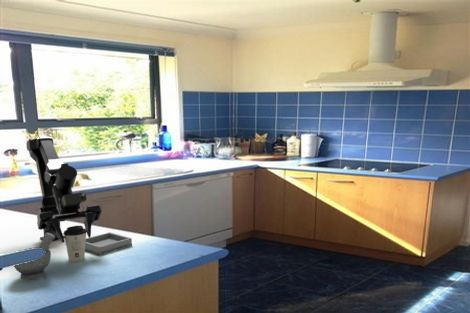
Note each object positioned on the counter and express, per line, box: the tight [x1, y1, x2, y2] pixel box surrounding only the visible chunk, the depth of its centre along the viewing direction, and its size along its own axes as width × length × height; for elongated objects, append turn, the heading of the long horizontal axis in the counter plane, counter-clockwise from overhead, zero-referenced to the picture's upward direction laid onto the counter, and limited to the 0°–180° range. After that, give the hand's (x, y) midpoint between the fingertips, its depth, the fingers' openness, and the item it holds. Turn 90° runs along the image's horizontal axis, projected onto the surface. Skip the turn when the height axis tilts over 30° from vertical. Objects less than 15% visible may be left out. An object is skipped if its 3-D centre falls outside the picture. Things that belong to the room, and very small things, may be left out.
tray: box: [85, 231, 133, 256], centre depth 150 cm, size 13×13×2 cm
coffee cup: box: [62, 225, 87, 263], centre depth 137 cm, size 7×7×10 cm
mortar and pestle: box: [13, 233, 55, 282], centre depth 123 cm, size 11×9×12 cm
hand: (76, 239), depth 136 cm, fingers open, 8 cm apart
